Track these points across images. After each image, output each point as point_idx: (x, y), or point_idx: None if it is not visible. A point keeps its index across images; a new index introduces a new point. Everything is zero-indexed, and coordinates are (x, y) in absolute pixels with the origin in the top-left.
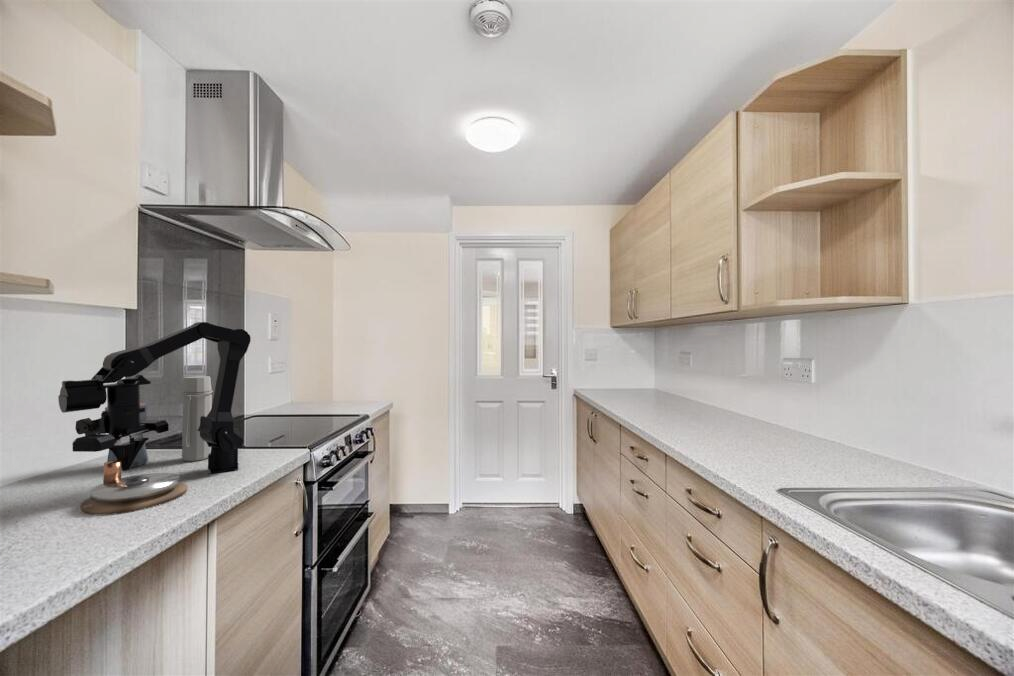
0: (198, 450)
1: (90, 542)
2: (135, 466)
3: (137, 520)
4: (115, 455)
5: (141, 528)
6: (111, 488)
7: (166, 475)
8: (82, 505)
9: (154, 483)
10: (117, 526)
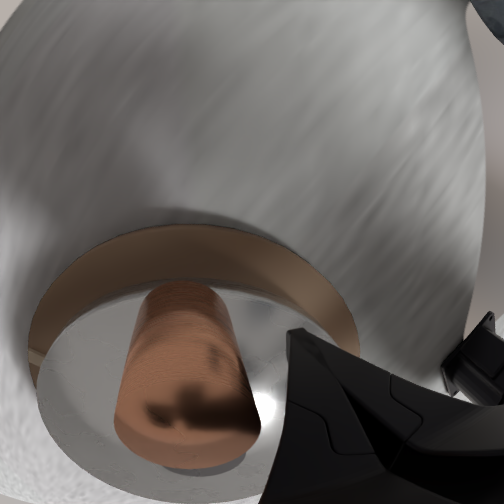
0: None
1: (10, 466)
2: (494, 35)
3: (88, 481)
4: (283, 432)
5: (76, 497)
6: (103, 413)
7: None
8: (34, 326)
9: (210, 481)
10: (54, 470)
